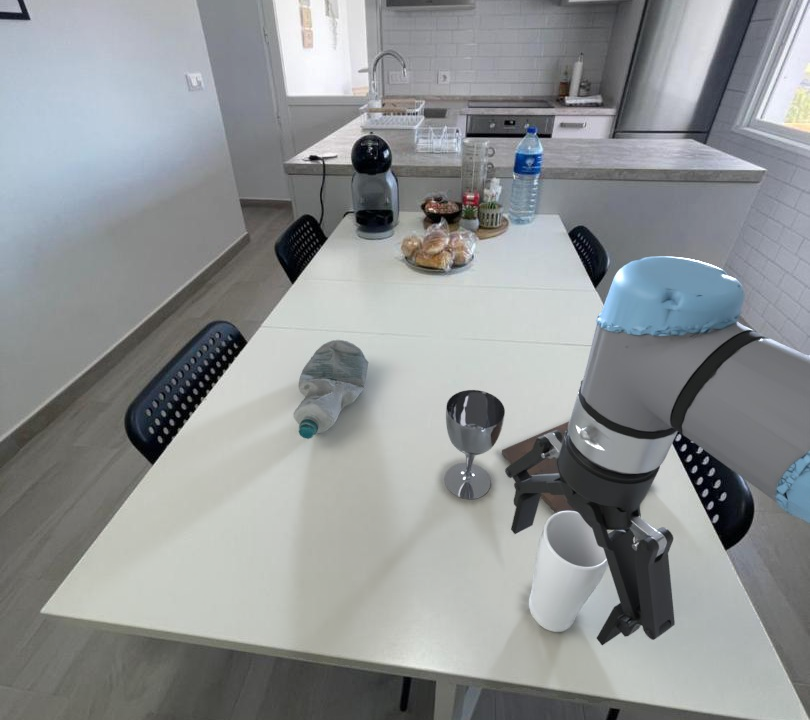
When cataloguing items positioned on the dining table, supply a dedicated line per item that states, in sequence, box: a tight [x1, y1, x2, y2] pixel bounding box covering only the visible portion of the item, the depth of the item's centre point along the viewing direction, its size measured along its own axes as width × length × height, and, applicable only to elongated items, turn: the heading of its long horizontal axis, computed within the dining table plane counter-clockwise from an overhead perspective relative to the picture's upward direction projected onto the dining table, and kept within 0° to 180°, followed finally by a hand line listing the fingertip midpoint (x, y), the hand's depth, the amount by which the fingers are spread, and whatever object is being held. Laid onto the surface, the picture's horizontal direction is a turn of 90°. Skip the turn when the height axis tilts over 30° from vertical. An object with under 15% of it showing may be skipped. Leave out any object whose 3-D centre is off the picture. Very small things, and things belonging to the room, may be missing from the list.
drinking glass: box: [528, 511, 609, 633], centre depth 49 cm, size 7×7×15 cm
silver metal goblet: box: [444, 389, 506, 500], centre depth 65 cm, size 8×8×15 cm
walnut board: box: [501, 421, 577, 514], centre depth 71 cm, size 16×16×1 cm
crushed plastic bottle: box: [292, 339, 369, 439], centre depth 83 cm, size 13×7×25 cm
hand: (561, 576), depth 50 cm, fingers open, 13 cm apart
